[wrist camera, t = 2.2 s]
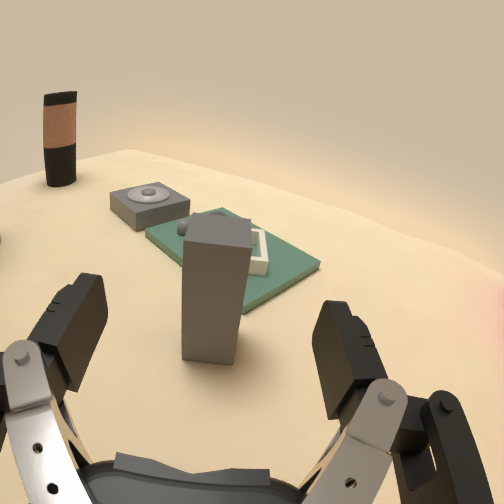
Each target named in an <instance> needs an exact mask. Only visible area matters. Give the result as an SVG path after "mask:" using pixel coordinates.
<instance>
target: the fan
mask: <svg viewBox="0 0 504 504" xmlns="http://www.w3.org/2000/svg"><path fill="white" fill-rule="evenodd" d="M110 209H111V210H112V211H114V212H115V213H116V214H117V215H118V216H119V217H120V218H121V219H122V220H124V221H125V222H126V223H127V224H128V225H129V226H130V227H131V228H133V229H134V230H135V231H139V230H142V229H146V228H149V227H152V226H156V225H159V224H163V223H166V222H170V221H174V220H177V219H181V218H184V217H188V216H189V211H190V199H188V198H187V197H185V196H183V195H181V194H179V193H178V192H176V191H174V190H172V189H171V188H169V187H167V186H165V185H163V184H162V183H160V182H156V183H151V184H146V185H141V186H136V187H132V188H127V189H122V190H118V191H113V192H110Z"/></svg>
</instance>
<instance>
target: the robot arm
mask: <svg viewBox="0 0 504 504" xmlns="http://www.w3.org/2000/svg"><path fill="white" fill-rule="evenodd" d="M0 240H1V236H0ZM107 318H108V306H107V301H106V295H105V289H104V283H103V278H102V276H101V275H95V274H88V273H81V274H80V275H79V276H78V278H77V279H76V281H75V282H74V283H73V285H70V284H68V285H67V286H65V287H64V288H62V289H61V290H60V291H58V292H57V294H56V295H55V297H54V298H53V300H52V301H51V303H50V304H49V305H48V307H47V308H46V311H44V313H43V315H42V316H41V318H40V319H39V321H38V322H37V324H36V325H35V327H34V329H33V330H32V332H31V333H30V335H29V337H28V338H27V340H19V341H16V342H14V343H12V344H11V345H10V346H9V347H8V348H7V349H6V350H5V352H0V452H1V449H2V445H3V442H4V439H5V436H6V433H7V431H8V435H9V439H10V443H11V447H12V451H13V454H14V458H15V461H16V464H17V468H18V471H19V474H20V477H21V480H22V483H23V486H24V489H25V491H26V494H27V497H28V499H29V502H30V503H29V504H372V503H373V501H374V499H375V497H376V495H377V493H378V491H379V489H380V486H381V484H382V482H383V480H384V478H385V476H386V474H387V471H388V469H389V467H390V464H391V462H392V459H393V464H394V469H395V474H396V479H397V484H398V489H399V494H400V500H401V504H494V502H493V498H492V494H491V491H490V487H489V483H488V480H487V477H486V473H485V470H484V467H483V464H482V461H481V458H480V455H479V452H478V449H477V446H476V443H475V440H474V437H473V435H472V432H471V429H470V427H469V424H468V421H467V419H466V416H465V414H464V411H463V409H462V406H461V404H460V402H459V400H458V399H457V398H456V397H455V396H454V395H453V394H451V393H450V392H448V391H444V390H439V391H436V392H434V393H433V394H432V395H431V396H430V397H429V398H428V399H424V398H418V397H413V396H409V395H407V394H406V392H405V390H404V389H403V387H402V386H401V385H399V384H398V383H397V382H395V381H393V380H390V379H388V376H387V374H386V371H385V369H384V366H383V364H382V361H381V359H380V356H379V354H378V351H377V349H376V347H375V344H374V342H373V339H371V335H370V332H369V330H368V328H367V325H366V324H365V323H364V322H363V321H362V320H361V319H360V318H359V317H358V316H352V314H351V311H350V309H349V306H348V304H347V303H346V302H344V301H329V300H326V301H325V302H324V303H323V306H322V308H321V311H320V314H319V317H318V320H317V322H316V325H315V328H314V331H313V335H312V347H313V352H314V356H315V361H316V365H317V370H318V374H319V379H320V384H321V388H322V393H323V398H324V402H325V407H326V412H327V417H328V420H334V419H339V421H340V425H341V426H340V427H339V428H338V430H337V432H336V433H335V435H334V437H333V438H332V440H331V441H330V443H329V445H328V446H327V448H326V449H325V451H324V452H323V454H322V455H321V457H320V459H319V460H318V462H317V463H316V465H315V466H314V467H313V469H312V470H311V471H310V473H309V474H308V475H307V476H306V478H305V479H304V480H303V481H302V483H301V484H300V485H299V487H298V488H296V487H295V486H293V485H291V484H289V483H286V482H284V481H281V480H278V479H275V478H271V477H270V472H269V469H234V468H231V469H225V470H218V471H211V472H204V473H196V474H191V473H186V472H183V471H181V470H178V469H175V468H173V467H170V466H167V465H165V464H162V463H160V462H157V461H155V460H152V459H147V458H142V457H137V456H132V455H127V454H123V453H118V452H116V456H115V460H108V461H101V462H96V463H93V462H92V460H91V458H90V456H89V455H88V453H87V451H86V449H85V448H84V446H83V444H82V442H81V440H80V437H79V435H78V433H77V430H76V428H75V425H74V423H73V420H72V417H71V415H70V412H69V409H68V407H67V404H66V401H65V399H64V395H65V392H66V390H70V391H74V392H78V389H79V387H80V384H81V382H82V379H83V377H84V374H85V372H86V369H87V367H88V364H89V362H90V360H91V357H92V355H93V352H94V350H95V348H96V345H97V343H98V341H99V339H100V336H101V334H102V332H103V330H104V327H105V325H106V322H107ZM430 446H431V449H432V452H433V456H434V460H435V463H436V470H435V466H434V462H433V459H432V455H431V452H430V448H429V447H430ZM389 452H391V454H389Z"/></svg>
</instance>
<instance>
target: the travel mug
mask: <svg viewBox="0 0 504 504" xmlns="http://www.w3.org/2000/svg"><path fill="white" fill-rule="evenodd" d="M76 101H77V91H68V92H59V93H52V94H46V95H44V110H43V145H44V160H45V170H46V179H47V185H48V186H51V187H60V186H65V185H69V184H71V183H73V182H75V180H76Z"/></svg>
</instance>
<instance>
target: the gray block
mask: <svg viewBox="0 0 504 504" xmlns="http://www.w3.org/2000/svg"><path fill="white" fill-rule="evenodd" d="M252 249H253V247H252V230H251V219H246V218H237V217H229V216H220V215H211V214H203V213H193V214H192V217H191V220H190V223H189V225H188V228H187V231H186V234H185V237H184V240H183V264H182V360H190V361H199V362H208V363H218V364H229V365H233V359H234V353H235V347H236V341H237V336H238V330H239V324H240V318H241V312H242V307H243V301H244V295H245V289H246V284H247V278H248V272H249V266H250V260H251V255H252Z"/></svg>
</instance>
